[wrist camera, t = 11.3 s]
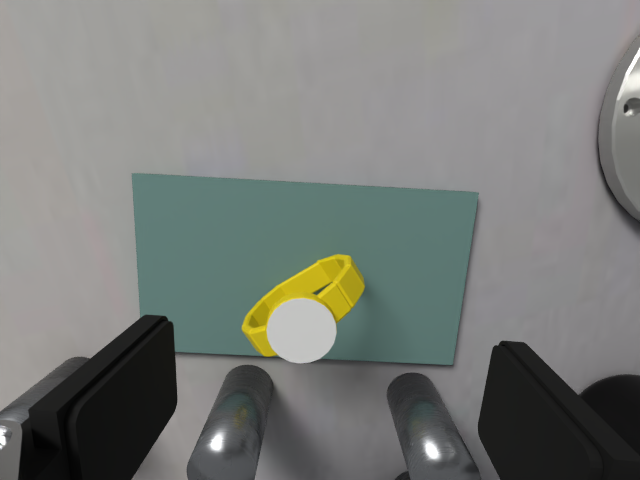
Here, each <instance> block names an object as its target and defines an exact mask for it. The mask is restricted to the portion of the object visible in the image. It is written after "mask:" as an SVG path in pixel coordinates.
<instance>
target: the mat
mask: <svg viewBox="0 0 640 480" xmlns="http://www.w3.org/2000/svg"><path fill="white" fill-rule="evenodd" d="M132 185H133V202H134V218H135V235H136V252H137V269H138V286H139V303H140V318H141V317H142V316H144V315H146V314H147V315H161V316H166V317H167V318H168V321H172V322H173V325H174V342H175V352H190V353H211V354H232V355H253V356H263V355H262V354H260V353H259V352H258V351H256V349H255V348H254V347H253V345H252V344H251V342H250V341H249V340H248V338H247V337H246V335H245V334H244V333H243V331H242V329H241V328H242V325H243V322H244V319H245V317H246V315H247V314H248V312H249V311H250V310H251V309H252V308H253V307H254V306H255V305H256V303H257V302H258V301H259V300H261V298H262V297H264V296H265V295H266V294H267V293H268V292H270V291H271V290H272V289H273V288H274V287H276V286H277V285H279V284H281V283H282V282H284V281H286V280H287V279H289V278H291V277H293V276H294V275H296V274H298V273H299V272H301V271H303V270H304V269H306V268H308V267H309V266H311V265H313V264H315V263H316V262H317V261H318V260H321V259H324V258H327V257H330V256H333V255H337V254H340V255H349V256H351V258H352V260H353V261H354V263H355V264H356V266H357V268H358V269H359V271H360V273H361V274H362V276H363V278H364V284H365V288H364V292H363V293H362V295H361V296H360V298H359V300H358V301H357V303H356V304H355V306H354V308H351V311H350V312H349V313H348V314H347V315H346V316H345V317H343V318H342V319H341V320H340V321H339V322H338V323H337V324H336V327H337V334H336V338H335V341H334V344H333V346H332V347H331V349H330V350H329V352H328V353H326V354H325V355H324V356H323V357H321V358H320V359H336V360H357V361H378V362H399V363H420V364H441V365H453V360H454V353H455V347H456V340H457V333H458V327H459V320H460V314H461V307H462V300H463V294H464V287H465V281H466V274H467V267H468V261H469V254H470V248H471V241H472V234H473V228H474V221H475V215H476V208H477V201H478V195H479V193H477V192H465V191H447V190H429V189H411V188H393V187H375V186H357V185H339V184H321V183H303V182H285V181H267V180H249V179H231V178H213V177H195V176H177V175H159V174H141V173H134V174H132ZM332 283H333V282H332ZM330 284H331V283H330ZM330 284H328V285H326V286H325V287H323V288H321V289H320V290H318V291H316V292H314V293H313V294H315V295H318V294H319V293H320V292H321V291H323V290H324V289H325V288H326V287H327V286H329V285H330ZM274 357H280V356H278V355H276V356H274Z"/></svg>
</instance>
